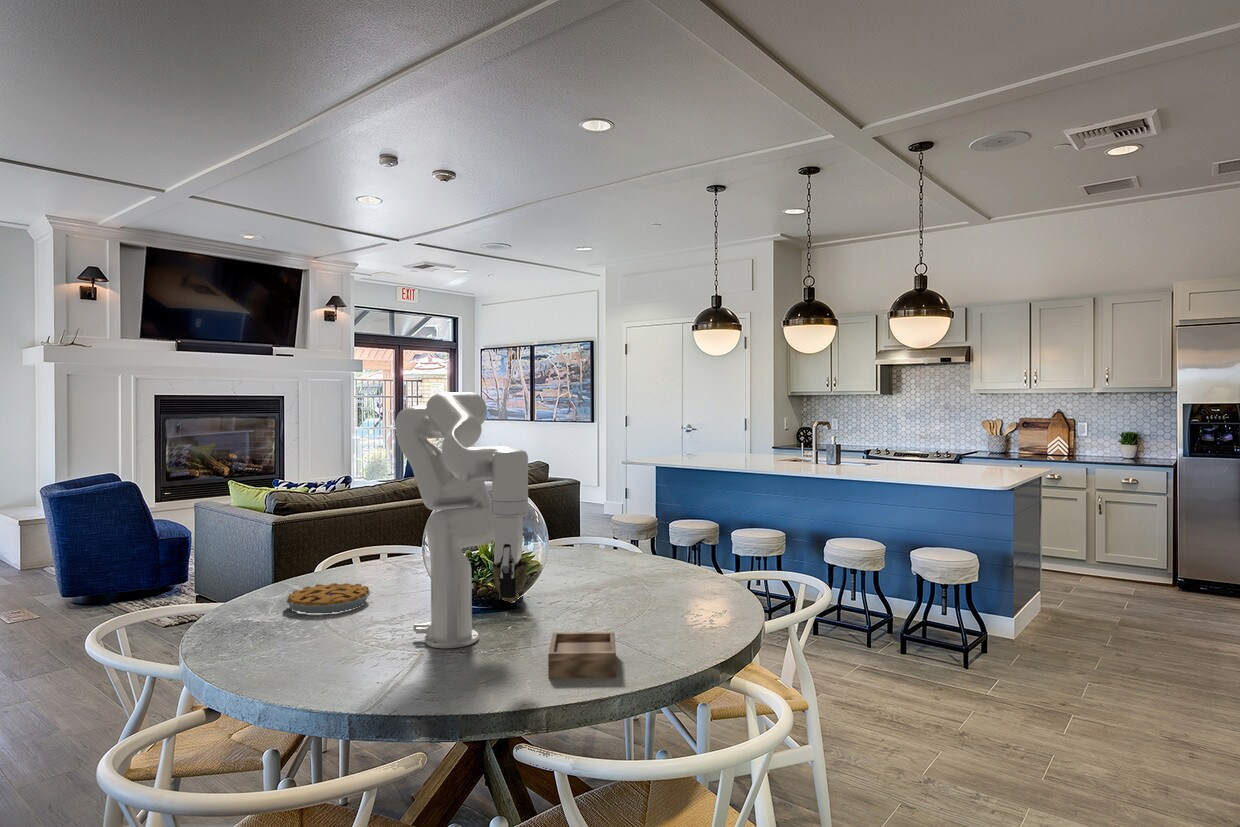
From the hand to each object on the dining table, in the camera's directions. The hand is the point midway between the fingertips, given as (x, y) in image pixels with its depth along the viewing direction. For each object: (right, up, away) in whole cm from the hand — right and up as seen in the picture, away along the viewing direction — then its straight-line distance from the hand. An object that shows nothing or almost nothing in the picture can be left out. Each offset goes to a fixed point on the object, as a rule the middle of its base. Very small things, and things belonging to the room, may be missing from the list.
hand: (510, 591), depth 155 cm
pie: (-59, -17, +53) cm, 81 cm away
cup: (0, -2, 0) cm, 2 cm away
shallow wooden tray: (+15, -17, +4) cm, 24 cm away
